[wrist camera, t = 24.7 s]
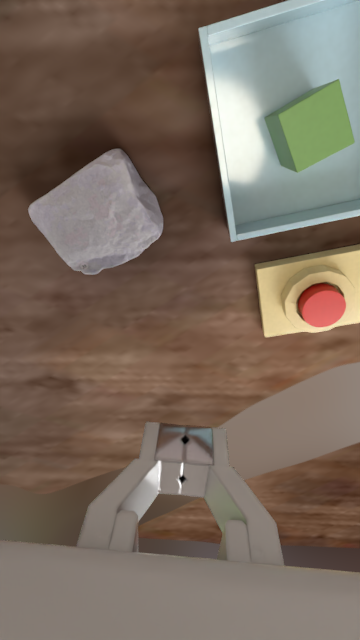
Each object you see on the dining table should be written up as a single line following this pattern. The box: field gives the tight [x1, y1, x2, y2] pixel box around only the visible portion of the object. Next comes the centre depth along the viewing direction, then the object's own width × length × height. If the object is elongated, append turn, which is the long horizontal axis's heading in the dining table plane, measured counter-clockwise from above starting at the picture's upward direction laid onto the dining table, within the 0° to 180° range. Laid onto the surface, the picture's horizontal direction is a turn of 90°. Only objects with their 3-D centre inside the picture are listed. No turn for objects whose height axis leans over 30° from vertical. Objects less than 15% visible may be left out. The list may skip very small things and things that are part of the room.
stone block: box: [28, 149, 163, 275], centre depth 34 cm, size 12×5×10 cm
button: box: [298, 284, 346, 327], centre depth 35 cm, size 4×4×2 cm
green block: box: [264, 79, 355, 173], centre depth 27 cm, size 4×4×6 cm
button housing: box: [255, 244, 360, 337], centre depth 37 cm, size 12×9×4 cm
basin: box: [198, 0, 360, 242], centre depth 28 cm, size 15×16×4 cm
